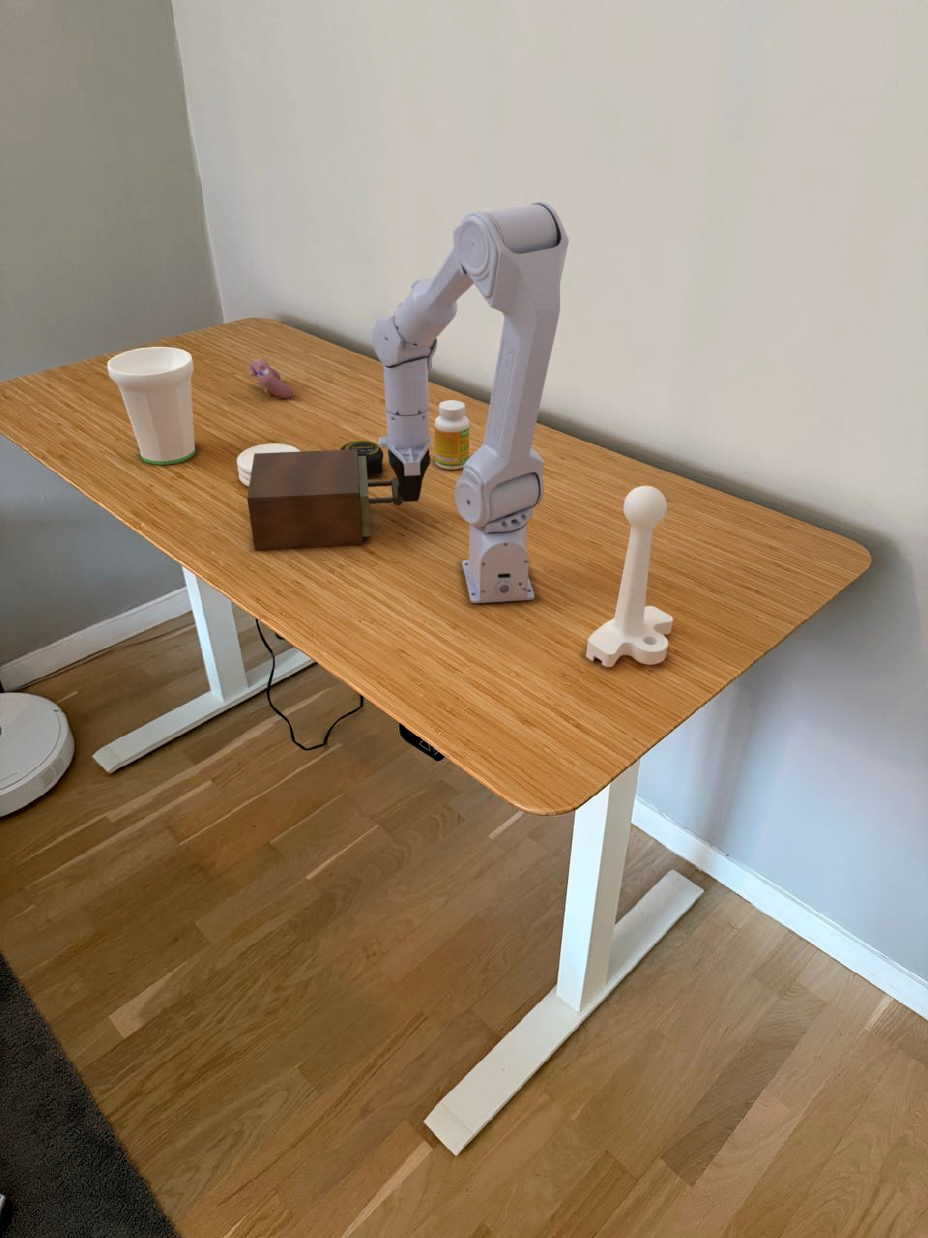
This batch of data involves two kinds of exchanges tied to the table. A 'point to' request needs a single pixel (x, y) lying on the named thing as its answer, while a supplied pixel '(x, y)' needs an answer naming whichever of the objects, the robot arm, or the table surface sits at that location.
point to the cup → (157, 401)
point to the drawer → (365, 500)
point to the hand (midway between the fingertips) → (410, 499)
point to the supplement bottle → (451, 435)
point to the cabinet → (305, 499)
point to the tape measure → (368, 455)
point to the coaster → (248, 455)
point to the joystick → (635, 592)
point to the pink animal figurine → (270, 379)
